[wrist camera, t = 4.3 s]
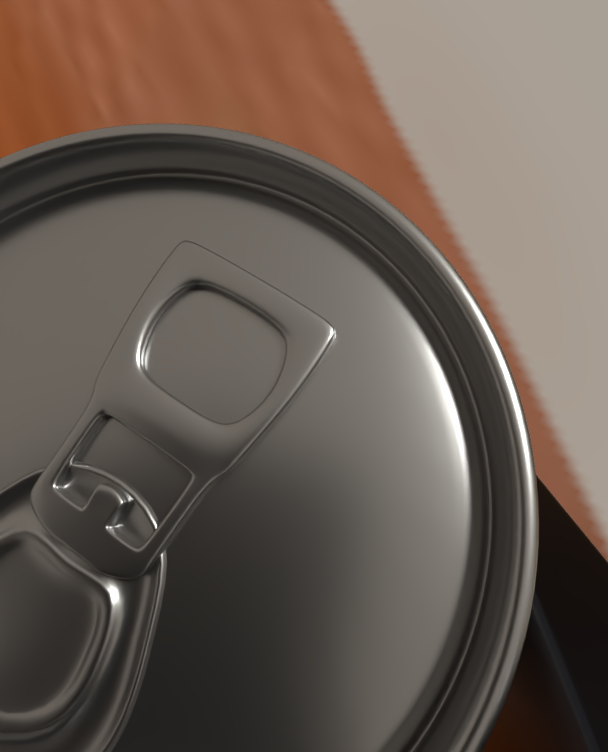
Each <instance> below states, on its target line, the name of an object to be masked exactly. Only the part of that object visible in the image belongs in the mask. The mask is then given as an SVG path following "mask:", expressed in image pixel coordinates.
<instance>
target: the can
mask: <svg viewBox="0 0 608 752" xmlns="http://www.w3.org/2000/svg"><path fill="white" fill-rule="evenodd" d="M538 546H539V508H538V490H537V478H536V470H535V463H534V455H533V450H532V444H531V439H530V433H529V429H528V425H527V421H526V416H525V412H524V409H523V405H522V402H521V398H520V395H519V392H518V389H517V386H516V383H515V380H514V377H513V374H512V371H511V369H510V366H509V364H508V361H507V359H506V356H505V354H504V352H503V349H502V347H501V345H500V343H499V341H498V338H497V336H496V334H495V332H494V330H493V328H492V326H491V325H490V323H489V321H488V319H487V317H486V315H485V313H484V312H483V310H482V308H481V307H480V305H479V303H478V301H477V300H476V298H475V297H474V295H473V294H472V292H471V291H470V289H469V288H468V286H467V285H466V283H465V282H464V280H463V279H462V278H461V276H460V275H459V273H458V272H457V271H456V269H455V268H454V267H453V266H452V264H451V263H450V262H449V261H448V259H447V258H446V257H445V256H444V254H443V253H442V252H441V251H440V250H439V249H438V248H437V246H436V245H435V244H434V243H433V242H432V241H431V240H430V239H429V238H428V237H427V236H426V235H425V234H424V233H423V232H422V230H421V229H420V228H419V227H418V226H416V225H415V224H414V223H413V222H412V221H411V220H410V219H409V218H408V217H407V216H406V215H405V214H403V213H402V212H401V211H400V210H399V209H397V208H396V207H395V206H394V205H393V204H391V203H390V202H389V201H388V200H386V199H385V198H384V197H382V196H381V195H380V194H378V193H377V192H376V191H374V190H373V189H371V188H370V187H368V186H367V185H365V184H364V183H362V182H361V181H359V180H358V179H356V178H354V177H353V176H351V175H350V174H348V173H346V172H344V171H343V170H341V169H339V168H337V167H335V166H333V165H332V164H330V163H328V162H326V161H324V160H321V159H319V158H317V157H315V156H313V155H311V154H308V153H306V152H304V151H301V150H299V149H296V148H294V147H291V146H288V145H286V144H283V143H280V142H277V141H273V140H270V139H267V138H264V137H260V136H256V135H252V134H248V133H244V132H239V131H235V130H229V129H223V128H217V127H209V126H201V125H189V124H135V125H124V126H115V127H108V128H101V129H95V130H90V131H84V132H80V133H76V134H71V135H67V136H63V137H60V138H56V139H52V140H49V141H46V142H43V143H39V144H36V145H33V146H31V147H28V148H25V149H22V150H20V151H17V152H15V153H12V154H10V155H7V156H5V157H3V158H0V752H482V751H483V749H484V747H485V745H486V743H487V741H488V739H489V737H490V735H491V733H492V731H493V729H494V727H495V724H496V722H497V720H498V718H499V715H500V713H501V711H502V708H503V706H504V703H505V701H506V698H507V695H508V693H509V690H510V688H511V685H512V682H513V679H514V676H515V673H516V670H517V666H518V663H519V660H520V656H521V653H522V649H523V645H524V642H525V638H526V633H527V629H528V624H529V619H530V615H531V609H532V603H533V597H534V590H535V582H536V573H537V562H538Z"/></svg>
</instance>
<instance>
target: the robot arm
mask: <svg viewBox="0 0 608 752" xmlns="http://www.w3.org/2000/svg"><path fill="white" fill-rule="evenodd" d="M536 478H537V490H538V508H539V546H538V562H537V573H536V582H535V590H534V597H533V603H532V609H531V615H530V619H529V624H528V629H527V633H526V638H525V642H524V645H523V649H522V653H521V656H520V660H519V663H518V666H517V670H516V673H515V676H514V679H513V682H512V685H511V688H510V690H509V693H508V695H507V698H506V701H505V703H504V706H503V708H502V711H501V713H500V715H499V718H498V720H497V722H496V724H495V727H494V729H493V731H492V733H491V735H490V737H489V739H488V741H487V743H486V745H485V747H484V749H483V751H482V752H608V562H607V561H606V559H605V558H604V557H603V556H602V555H601V553H600V552H599V551H598V550H597V548H596V547H595V546H594V545H593V544H592V542H591V541H590V540H589V539H588V537H587V536H586V535H585V534H584V533H583V531H582V530H581V529H580V528H579V526H578V525H577V524H576V523H575V522H574V520H573V519H572V518H571V517H570V516H569V514H568V513H567V512H566V511H565V509H564V508H563V507H562V506H561V505H560V503H559V502H558V501H557V500H556V498H555V497H554V496H553V495H552V494H551V492H550V491H549V490H548V489H547V487H546V486H545V485H544V484H543V483H542V481H541V480H540V479H539V478H538V476H537V475H536Z"/></svg>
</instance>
